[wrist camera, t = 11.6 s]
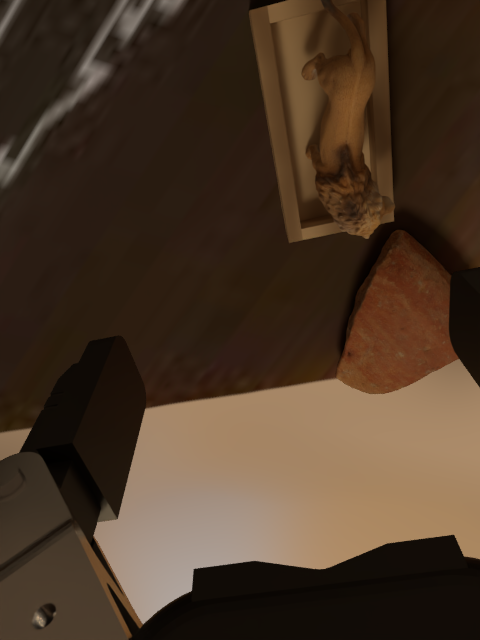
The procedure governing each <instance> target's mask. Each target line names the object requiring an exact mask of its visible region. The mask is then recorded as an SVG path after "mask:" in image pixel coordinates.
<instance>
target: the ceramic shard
mask: <svg viewBox="0 0 480 640" xmlns="http://www.w3.org/2000/svg"><path fill="white" fill-rule="evenodd" d="M450 280H451V275H450V274H449V273H448V272H447V271H446V270H445V269H444V267H443V266H442V265H441V264H440V263H439V262H438V261H437V260H436V259H435V258H434V257H433V256H432V255H431V254H430V252H428V251H427V250H426V249H425V248H424V247H423V246H422V245H421V244H420V243H418V242H417V241H416V240H415V239H414V238H413V237H412V236H411V235H410V234H408V233H407V232H406V231H403V230H396V231H394V232H393V233H392V234H391V235H390V237H389V239H388V240H387V241H386V243H385V245H384V246H383V248H382V250H381V253H380V255H379V257H378V259H377V261H376V263H375V264H374V265H373V267H372V268H371V270H370V273H369V275H368V276H367V277H366V279H365V281H364V282H363V284H362V285H361V287H360V288H359V290H358V292H357V294H356V297H355V304H354V310H353V312H352V314H351V316H350V317H349V320H348V326H347V330H346V343H345V348H344V350H343V353H342V355H341V357H340V360H339V362H338V365H337V370H336V377H337V378H338V379H339V380H340V381H342V382H343V383H344V384H346V385H348V386H350V387H352V388H355V389H358V390H360V391H362V392H366V393H369V394H385V393H389V392H392V391H395V390H398V389H401V388H402V387H406V386H408V385H410V384H412V383H414V382H416V381H418V380H420V379H421V378H423V377H425V376H427V375H428V374H429V373H431V372H433V371H436V370H438V369H440V368H442V367H444V366H445V365H447V364H450V363H451V362H453V361H455V360H457V359H459V358H458V356H457V355H456V353H455V352H454V349H453V347H452V344H451V341H450V336H449V302H450Z"/></svg>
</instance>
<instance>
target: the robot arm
mask: <svg viewBox="0 0 480 640" xmlns="http://www.w3.org/2000/svg"><path fill="white" fill-rule="evenodd" d="M449 336H450V341H451V344H452V347H453V349H454V352H455V353H456V355H457V356H458V358H459V359H460V360H461V362H462V363H463V365H464V366H465V367H466V369H467V370H468V372H469V373H470V374H471V376H472V377H473V379H474V380H475V381H476V383H477V384H478V386H479V387H480V267H478V268H473V269H468V270H462V271H457V272H454V273H453V274H452V276H451V280H450V302H449ZM145 407H146V392H145V387H144V383H143V381H142V378H141V376H140V374H139V371H138V369H137V367H136V364H135V362H134V360H133V357H132V355H131V353H130V350H129V348H128V346H127V343H126V341H125V340H124V338H123V337H121V336H114V337H109V338H104V339H98V340H93V341H90V342H89V343H88V345H87V347H86V349H85V351H84V353H83V355H82V357H81V359H80V361H79V363H76V364H73V365H72V366H71V367H70V368H69V369H68V370H67V371H66V372H65V373H64V374H63V375H62V376H61V377H60V378H59V379H58V381H57V383H56V384H55V386H54V388H53V390H52V392H51V397H49V398H48V399H47V401H46V403H45V405H44V410H42V411H41V413H40V414H39V416H38V418H37V420H36V422H35V424H34V426H33V428H32V430H31V431H30V433H29V435H28V437H27V439H26V441H25V443H24V445H23V446H22V448H21V450H20V452H19V453H18V454H14V455H12V456H9V457H7V458H5V459H3V460H1V461H0V640H480V559H476V558H470V557H464V556H463V554H462V551H461V549H460V547H459V545H458V542H457V540H456V538H455V536H454V535H449V536H442V537H434V538H426V539H419V540H411V541H404V542H396V543H388V544H385V545H383V546H380V547H378V548H376V549H373V550H371V551H368V552H366V553H363V554H361V555H359V556H356V557H354V558H351V559H349V560H346V561H344V562H342V563H339V564H337V565H335V566H332V567H330V568H326V569H320V570H319V569H310V568H302V567H295V566H288V565H280V564H273V563H265V562H259V561H251V562H243V563H236V564H228V565H220V566H214V567H206V568H198V569H194V574H193V585H192V591H191V592H189V593H187V594H184V595H182V596H181V597H179V598H177V599H175V600H174V601H172V602H170V603H169V604H167V605H166V606H165V607H163V608H162V609H161V610H159V611H158V612H157V613H155V614H154V615H153V616H152V617H151V618H150V619H149V620H148V621H147V622H145V623H144V624H142V623H141V621H140V619H139V618H138V616H137V614H136V613H135V611H134V609H133V607H132V606H131V604H130V602H129V600H128V598H127V596H126V594H125V592H124V591H123V589H122V587H121V585H120V583H119V581H118V579H117V578H116V576H115V574H114V572H113V570H112V568H111V566H110V564H109V563H108V561H107V559H106V557H105V555H104V553H103V551H102V550H101V548H100V546H99V544H98V542H97V541H96V539H95V538H94V536H93V535H94V532H95V528H96V525H97V522H102V521H109V520H116V519H118V515H119V511H120V507H121V503H122V499H123V495H124V491H125V487H126V483H127V479H128V474H129V471H130V467H131V462H132V459H133V455H134V451H135V447H136V443H137V439H138V435H139V431H140V427H141V423H142V419H143V415H144V411H145Z"/></svg>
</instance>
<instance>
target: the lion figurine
mask: <svg viewBox="0 0 480 640" xmlns="http://www.w3.org/2000/svg"><path fill="white" fill-rule="evenodd" d="M321 2H322V5H323V7H324V9H325V10H326V11H327V12H329V13H330V14H331V15H332V16H333V17H334V18H335V19H336V20H337V21H338V22H339V23H340V24H341V26H342V27H343V28H344V31H345V33H346V34H347V35H348V38H349V41H350V44H351V48H350V49H349V50H348V53H347V54H346V55H337V56H333V57H331V58H328V59H326V58H325V55H324V53H321V52H320V53H318V54H317V55H316V56H315V57H314V58H313V59H311V60H309V61H308V62H307V63H306V64H305V65H304V67H303V68H302V73H301V75H302V77H303V78H304V80H308V81H310V80H314V79H315V78H316V77H318V81H319V84H320V86H321V87H322V88H323V89H324V91H325V92H326V93H327V94H328V96H329V99H328V104H327V107H326V109H325V112H324V115H323V118H322V122H321V131H320V147H319V145H317V144H315V145H311V146H309V147H308V148H307V150H306V153H305V154H306V157H308V159H311V160H312V165H313V168H314V169H315V170H316V175H315V185H316V190H317V192H318V196H319V199H320V200H321V202H322V203H323V205H324V206H325V209H326V210H327V211H328V212H329V213H330V214H331V215H332V217H333V220H334V222H335V223H336V224H337V225H338V226H339V228H340V230H341V231H347V232H348V233H349V234H352V235H361V236H363V237H364V238H366V239H367V238H369V236H370V234H372V233H373V232H374V229H376V228H377V227H378V225H380V223H381V219H382V217H383V215H387V214H390V213H392V211H393V210H394V208H395V205H394V203H393V202H392V201H391V199H390V198H389V197H387V196H381V194H380V193H379V188H378V184H377V183H376V182H375V181H373V180H372V177H371V172H370V170H369V168H368V166H367V165H366V164H365V159H364V154H363V152H362V149H363V143H364V135H365V121H364V111H365V106H366V104H367V102H368V100H369V98H370V95H371V93H372V91H373V89H374V86H375V82H376V67H375V59H374V56H373V54H372V52H371V50H370V48H369V46H368V44H367V41H366V34H365V22H364V20H363V19H362V18H361V17H360V16H359V14H358V13H355V12H352V13H349V14H348V15H347V16H346V15H345V14H343V13H342V12H341V11H340V10H339V9H338V8H337V7H335V5H334V4H333V2H332V0H321Z"/></svg>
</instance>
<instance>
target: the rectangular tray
mask: <svg viewBox="0 0 480 640" xmlns="http://www.w3.org/2000/svg"><path fill="white" fill-rule="evenodd" d="M332 2H333V4H334V5H335V7H337V8H338V9H339V10H340V11H341V12H342V13H343V14H345V15H346V16H347V15H348V14H349V13H352V12H355V13H358V14H359V16H360V17H361V18H362V19H363V20H364V22H365V34H366V41H367V44H368V46H369V48H370V50H371V52H372V54H373V56H374V59H375V67H376V82H375V86H374V89H373V91H372V93H371V95H370V98H369V100H368V102H367V104H366V106H365V111H364V121H365V135H364V143H363V149H362V152H363V154H364V159H365V164H366V165H367V166H368V168H369V170H370V172H371V177H372V180H373V181H375V182H376V183H377V184H378V188H379V193H380V194H381V196H387V197H389V198H390V199H391V201H392V202H393V178H392V152H391V125H390V98H389V72H388V45H387V18H386V0H332ZM249 18H250V24H251V29H252V35H253V41H254V47H255V53H256V59H257V64H258V70H259V76H260V82H261V88H262V94H263V99H264V105H265V111H266V117H267V123H268V129H269V134H270V140H271V146H272V152H273V158H274V164H275V169H276V175H277V181H278V187H279V193H280V199H281V204H282V210H283V216H284V222H285V228H286V233H287V236H288V240H289V243H290V242H295V241H300V240H305V239H310V238H315V237H320V236H324V235H329V234H334V233H339V232H344V231H341V230H340V228H339V226H338V225H337V224H336V223H335V222H334V220H333V217H332V215H331V214H330V213H329V212H328V211H327V210H326V209H325V206H324V205H323V203H322V202H321V200H320V199H319V196H318V192H317V190H316V185H315V175H316V170H315V169H314V168H313V165H312V160H311V159H308V157H306V154H305V153H306V150H307V148H308V147H309V146H311V145H315V144H317V145H319V147H320V131H321V122H322V118H323V115H324V112H325V109H326V107H327V104H328V99H329V96H328V94H327V93H326V92H325V91H324V89H323V88H322V87H321V86H320V84H319V81H318V77H316V78H315V79H314V80H310V81H308V80H304V78H303V77H302V75H301V73H302V68H303V67H304V65H305V64H306V63H307V62H308V61H309V60H311V59H313V58H314V57H315V56H316V55H317V54H318V53H320V52H321V53H324V55H325V58H326V59H328V58H331V57H333V56H337V55H346V54H347V53H348V50H349V49H350V48H351V44H350V41H349V38H348V35H347V34H346V33H345V31H344V28H343V27H342V26H341V24H340V23H339V22H338V21H337V20H336V19H335V18H334V17H333V16H332V15H331V14H330V13H329V12H327V11H326V10H325V9H324V7H323V5H322V2H321V0H287V1H283V2H280V3H276V4H272V5H268V6H265V7H261V8H257V9H253V10H250V11H249ZM392 221H394V210H393V211H392V213H390V214H387V215H383V217H382V219H381V223H380V224H383V223H387V222H392Z"/></svg>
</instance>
